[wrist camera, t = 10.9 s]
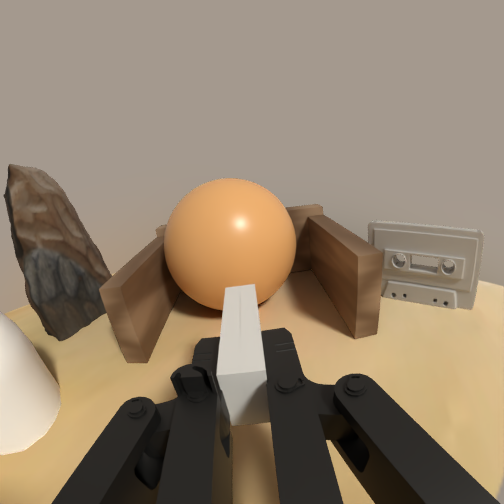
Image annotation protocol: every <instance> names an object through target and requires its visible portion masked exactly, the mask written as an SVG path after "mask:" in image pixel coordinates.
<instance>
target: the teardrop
mask: <svg viewBox="0 0 504 504" xmlns="http://www.w3.org/2000/svg"><path fill="white" fill-rule="evenodd" d="M60 406H61V398H60V386H59V385H58V383H57V382H56V381H55V379H54V378H53V376H52V375H51V373H50V372H49V370H48V369H47V367H46V366H45V364H44V362H43V361H42V359H41V358H40V356H39V354H38V353H37V351H36V349H35V348H34V346H33V344H32V342H31V341H30V340H29V339H28V338H27V336H26V335H25V334H24V333H23V332H22V331H21V329H20V328H19V327H18V326H17V325H16V324H15V323H14V322H13V321H12V320H11V319H9V318H8V317H7V316H5V315H4V314H3V313H2V312H0V455H6V454H11V453H16V452H20V451H24V450H26V449H27V448H28V447H30V446H31V445H32V444H34V443H35V442H36V441H38V440H39V439H40V438H41V437H43V436H44V435H45V434H46V433H47V431H48V430H49V429H50V427H51V426H52V424H53V423H54V421H55V420H56V417H57V414H58V412H59V409H60Z"/></svg>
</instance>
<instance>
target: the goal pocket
mask: <svg viewBox="0 0 504 504" xmlns="http://www.w3.org/2000/svg"><path fill="white" fill-rule="evenodd" d="M285 209H286V210H287V212H288V214H289V216H290V218H291V220H292V223H293V226H294V230H295V235H296V253H295V259H294V263H293V266H292V269H291V271H290V272H296V271H303V270H310V269H312V271H313V272H314V274H315V276H316V277H317V279H318V280H319V282H320V283H321V285H322V286H323V288H324V290H325V291H326V293H327V294H328V296H329V298H330V299H331V301H332V302H333V304H334V306H335V307H336V309H337V310H338V312H339V314H340V315H341V317H342V318H343V320H344V322H345V323H346V325H347V327H348V328H349V330H350V332H351V333H352V335H353V337H354V338H355V339H357V338H361V337H366V336H370V335H374V334H377V329H378V320H379V310H380V298H381V284H382V262H383V252H381V251H380V250H378V249H377V248H375V247H374V246H372V245H371V244H369V243H367V242H366V241H364V240H363V239H361V238H360V237H358V236H357V235H355V234H354V233H352V232H350V231H349V230H347V229H346V228H344V227H342V226H341V225H339V224H338V223H336V222H335V221H333V220H331V219H330V218H328V217H326V216H325V215H323V207H322V206H320V205H318V204H313V205H304V206H296V207H287V208H285ZM166 226H167V225H161V226H160V227H158V228H157V229H156V234H157V238H155V239H154V240H153V241H152V242H151V243H150V244H148V245H147V246H146V247H145V248H144V249H143V250H142V251H140V252H139V253H138V254H137V255H136V256H135V257H133V258H132V259H131V260H130V261H129V262H128V263H127V264H126V265H124V266H123V267H122V268H121V269H120V270H119V271H118V272H117V273H116V274H114V275H113V276H112V277H111V278H110V279H109V280H108V281H107V282H106V283H105V284H104V285H103V286H102V287H100V288H99V292H100V295H101V298H102V301H103V304H104V306H105V309H106V312H107V315H108V318H109V320H110V323H111V325H112V328H113V331H114V333H115V336H116V338H117V340H118V343H119V345H120V348H121V350H122V352H123V355H124V357H125V359H126V361H127V363H148V361H149V358H150V356H151V354H152V351H153V349H154V347H155V345H156V342H157V340H158V338H159V336H160V334H161V331H162V329H163V327H164V325H165V323H166V321H167V318H168V316H169V314H170V312H171V310H172V308H173V306H174V303H175V301H176V299H177V297H178V295H179V293H180V291H181V288H180V287H179V286H178V285H177V283H176V282H175V280H174V279H173V277H172V276H171V273H170V271H169V269H168V266H167V263H166V259H165V253H164V235H165V230H166Z"/></svg>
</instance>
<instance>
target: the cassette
mask: <svg viewBox="0 0 504 504" xmlns="http://www.w3.org/2000/svg"><path fill="white" fill-rule="evenodd" d="M368 243H369V244H371V245H372V246H374V247H375V248H377V249H378V250H380V251H381V252H383V262H382V284H381V295H382V296H383V297H385V298H390V299H396V300H402V301H408V302H414V303H420V304H426V305H432V306H438V307H444V308H450V309H456V308H462V309H468V310H471V309H472V308H473V305H474V301H475V296H476V292H477V285H478V279H479V274H480V267H481V260H482V253H483V244H484V234H483V232H482V231H481V230H475V229H466V228H457V227H447V226H437V225H426V224H415V223H403V222H389V221H375V220H373V221H371V222H370V223H369V224H368ZM398 254H399V255H402V256H403V257H404V259H405V261H403V262H402V261H399V260H398V259H397V257H396V255H398ZM412 255H417V256H426V257H434V258H439V260H438V261H439V262H438V267H432V266H424V265H416V264H412ZM445 261H452V262H453V263H454V265H453V267H446V266H445V265H444V262H445Z"/></svg>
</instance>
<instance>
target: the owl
mask: <svg viewBox="0 0 504 504" xmlns="http://www.w3.org/2000/svg"><path fill="white" fill-rule="evenodd" d="M4 198H5V201H6V206H7V211H8V216H9V220H10V223H11V234H12V235H11V237H12V239H13V244H14V248H15V254H16V258H17V260H18V263H19V266H20V268H21V270H22V272H23V274H24V277H25V289H26V290H25V291H26V295H27V298H28V300H29V303H30V305H31V307H32V308H33V309H34V310H35V312H36V313H37V314H38V316H39V317H40V320H41V322H42V324H43V326H44V328H45V331H46V332H47V334H48V335H51V336H54V337H56V338H57V339H58V341H62V340H65V339H67V338H69V337H71V336H72V335H74V334H75V333H77V332H78V331H79V330H80V329H81V328H83V327H85V326H88V325H89V324H90V323H91V322H92V321H94V320H95V319H97V318H98V317H99V316H101V315H103V314H105V313H107V312H106V309H105V306H104V304H103V301H102V298H101V295H100V292H99V288H100V287H102V286H103V285H104V284H105V283H106V282H107V281H108V280H109V279H110V278H111V277H112V275H111V274H110V272H109V270H108V268H107V266H106V264H105V263H104V261H103V258H102V255H101V253H100V251H99V249H98V248H97V246H96V245H95V244H94V243H93V241H92V240H91V238H90V236H89V234H88V233H87V231H86V230H85V228H84V226H83V224H82V222H81V221H80V219H79V217H78V215H77V213H76V211H75V208H74V207H73V205H72V204H71V203H70V201H69V200H68V198H67V196H66V194H65V192H64V191H63V189H62V188H61V187H60V186H59V185H58V183H57V182H56V181H55V180H54V179H53V178H51V177H50V176H48V174H47V173H45V172H44V171H42V170H39V169H37V168H33V167H23V166H18V165H12V164H10V165H9V166H8V179H7V187H6V191H5V194H4Z"/></svg>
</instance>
